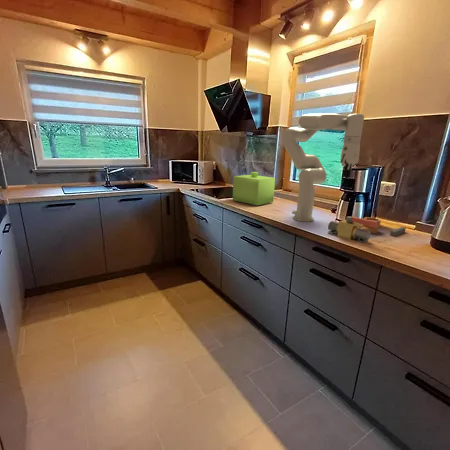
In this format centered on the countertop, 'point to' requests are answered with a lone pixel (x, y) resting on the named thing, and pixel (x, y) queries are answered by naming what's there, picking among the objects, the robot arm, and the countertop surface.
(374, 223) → the lever
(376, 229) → the small saucepan
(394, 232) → the block
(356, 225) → the valve body
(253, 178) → the canister
